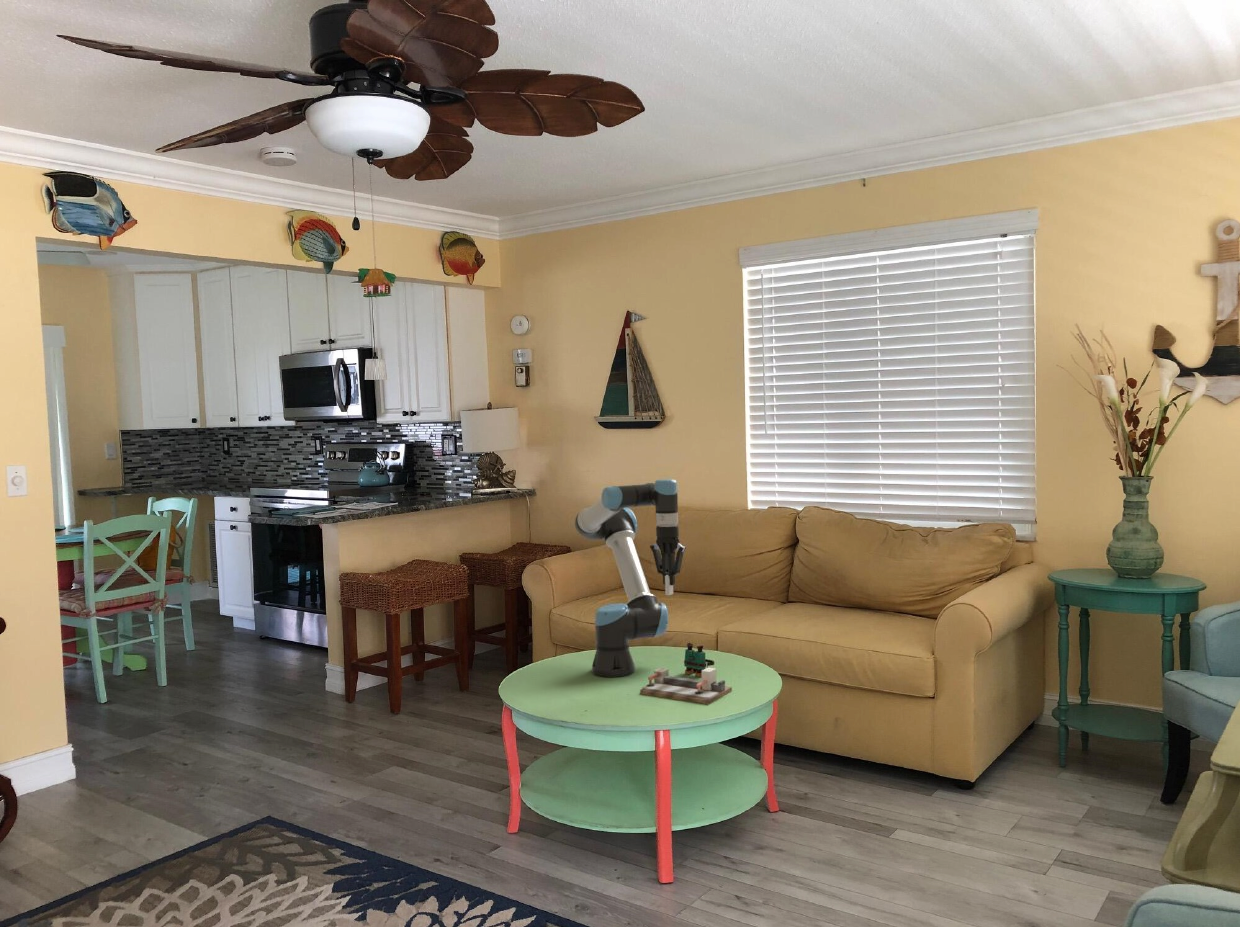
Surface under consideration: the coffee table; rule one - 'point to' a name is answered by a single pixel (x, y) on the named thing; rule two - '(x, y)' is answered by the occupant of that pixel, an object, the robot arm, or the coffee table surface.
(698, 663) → the binoculars
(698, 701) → the gauge
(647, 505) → the robot arm
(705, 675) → the slider head
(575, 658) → the coffee table surface
